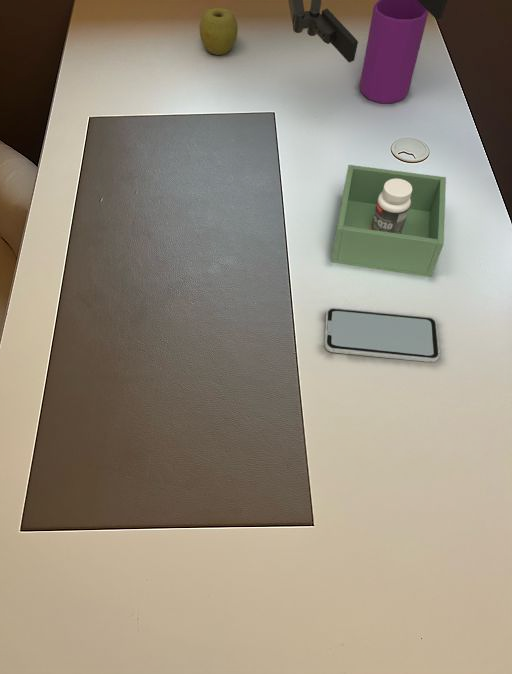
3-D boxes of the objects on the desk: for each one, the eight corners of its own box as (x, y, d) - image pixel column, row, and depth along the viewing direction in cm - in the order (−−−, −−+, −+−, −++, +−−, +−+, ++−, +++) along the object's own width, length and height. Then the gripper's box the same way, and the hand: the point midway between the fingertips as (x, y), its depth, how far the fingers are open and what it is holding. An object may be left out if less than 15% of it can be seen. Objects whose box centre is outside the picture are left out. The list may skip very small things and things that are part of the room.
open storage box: (434, 211, 99) (446, 177, 93) (430, 277, 91) (443, 243, 85) (342, 199, 101) (348, 164, 95) (330, 262, 93) (337, 228, 87)
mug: (355, 101, 116) (370, 16, 104) (367, 58, 125) (383, -25, 112) (404, 108, 115) (426, 23, 102) (414, 65, 123) (434, -19, 111)
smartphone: (440, 360, 81) (325, 348, 82) (438, 364, 82) (324, 353, 83) (436, 317, 86) (326, 306, 86) (434, 321, 86) (325, 311, 87)
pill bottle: (363, 231, 96) (374, 186, 89) (383, 217, 97) (395, 172, 90) (387, 247, 94) (400, 202, 87) (407, 232, 95) (421, 187, 88)
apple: (239, 41, 129) (240, 4, 123) (234, 62, 124) (234, 24, 118) (203, 39, 129) (202, 2, 124) (197, 59, 125) (195, 22, 119)
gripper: (372, -74, 89) (467, 18, 82) (223, -7, 85) (311, 95, 78) (384, -133, 82) (489, -38, 75) (222, -64, 78) (318, 44, 71)
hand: (399, 30), depth 77 cm, fingers open, 13 cm apart
